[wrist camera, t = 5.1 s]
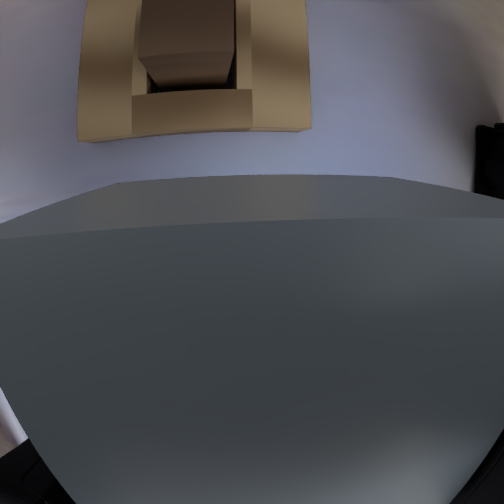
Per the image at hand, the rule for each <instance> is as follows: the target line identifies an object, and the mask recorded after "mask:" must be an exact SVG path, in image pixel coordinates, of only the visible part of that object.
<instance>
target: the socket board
mask: <svg viewBox="0 0 504 504" xmlns="http://www.w3.org/2000/svg"><path fill="white" fill-rule="evenodd" d="M141 6H142V0H87V6H86V13H85V19H84V27H83V35H82V44H81V54H80V66H79V82H78V115H77V131H78V142H87V143H98V142H105V141H113V140H121V139H130V138H139V137H149V136H161V135H174V134H189V133H209V132H247V131H271V132H300V131H304V130H308V129H311V94H310V69H309V49H308V32H307V18H306V5H305V0H234V54H233V89H212V90H190V91H175V92H163V93H154V80H153V79H152V77H151V76H150V74H149V73H148V72H147V70H146V69H145V67H144V66H143V64H142V63H141V62H140V60H139V59H138V44H139V29H140V17H141Z"/></svg>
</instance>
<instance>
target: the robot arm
mask: <svg viewBox="0 0 504 504" xmlns="http://www.w3.org/2000/svg"><path fill="white" fill-rule="evenodd" d="M481 131H482V133H481ZM475 193H477V194H481V195H485V196H490V197H494V198H498V199H502V200H504V123H496V124H495V125H494V128H490V127H487V126H484V125H478V126H477V127H476V178H475ZM0 504H76V503H75V502H74V500H73V499H72V498H71V497H70V495H69V494H68V493H67V492H66V490H65V489H64V488H63V487H62V485H61V484H60V483H59V481H58V480H57V479H56V477H55V476H54V475H53V473H52V472H51V471H50V469H49V468H48V466H47V465H46V464H45V462H44V461H43V459H42V458H41V456H40V455H39V453H38V452H37V450H36V449H35V447H34V446H33V444H32V442H31V441H30V439H29V438H28V439H27V440H25V441H24V442H23V443H21V444H20V445H19V446H17V447H16V448H14V449H13V450H11V451H10V452H8V453H7V454H5V455H4V456H2V457H1V458H0ZM449 504H504V429H503V430H502V432H501V434H500V435H499V437H498V438H497V440H496V442H495V443H494V445H493V446H492V448H491V449H490V451H489V452H488V454H487V455H486V457H485V458H484V460H483V461H482V462H481V464H480V465H479V467H478V468H477V469H476V471H475V472H474V474H473V475H472V476H471V478H470V479H469V480H468V481H467V483H466V484H465V485H464V487H463V488H462V489H461V490H460V492H459V493H458V494H457V495H456V496H455V498H454V499H453V500H452V501H451V502H450V503H449Z"/></svg>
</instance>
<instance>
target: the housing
mask: <svg viewBox="0 0 504 504" xmlns="http://www.w3.org/2000/svg"><path fill="white" fill-rule="evenodd" d="M0 387H1V389H2V391H3V393H4V395H5V397H6V399H7V401H8V403H9V404H10V406H11V408H12V410H13V412H14V414H15V416H16V417H17V419H18V421H19V423H20V424H21V426H22V428H23V429H24V431H25V433H26V434H27V436H28V438H29V439H30V441H31V442H32V444H33V446H34V447H35V449H36V450H37V452H38V453H39V455H40V456H41V458H42V459H43V461H44V462H45V464H46V465H47V466H48V468H49V469H50V471H51V472H52V473H53V475H54V476H55V477H56V479H57V480H58V481H59V483H60V484H61V485H62V487H63V488H64V489H65V490H66V492H67V493H68V494H69V495H70V497H71V498H72V499H73V500H74V502H75V503H76V504H449V503H450V502H451V501H452V500H453V499H454V498H455V496H456V495H457V494H458V493H459V492H460V490H461V489H462V488H463V487H464V485H465V484H466V483H467V481H468V480H469V479H470V478H471V476H472V475H473V474H474V472H475V471H476V469H477V468H478V467H479V465H480V464H481V462H482V461H483V460H484V458H485V457H486V455H487V454H488V452H489V451H490V449H491V448H492V446H493V445H494V443H495V442H496V440H497V438H498V437H499V435H500V434H501V432H502V430H503V429H504V200H502V199H498V198H494V197H490V196H485V195H481V194H477V193H472V192H468V191H463V190H458V189H454V188H449V187H444V186H439V185H433V184H428V183H423V182H417V181H411V180H405V179H399V178H393V177H378V176H353V175H235V176H209V177H190V178H173V179H159V180H146V181H134V182H124V183H116V184H113V185H109V186H106V187H103V188H99V189H96V190H93V191H90V192H87V193H84V194H81V195H78V196H74V197H71V198H69V199H66V200H63V201H60V202H57V203H54V204H51V205H48V206H46V207H43V208H40V209H37V210H35V211H32V212H29V213H27V214H24V215H21V216H19V217H16V218H14V219H11V220H9V221H6V222H4V223H1V224H0Z"/></svg>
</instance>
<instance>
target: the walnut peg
mask: <svg viewBox="0 0 504 504" xmlns="http://www.w3.org/2000/svg"><path fill="white" fill-rule="evenodd" d="M233 54H234V0H142V6H141V17H140V29H139V44H138V59H139V60H140V62H141V63H142V64H143V66H144V67H145V69H146V70H147V72H148V73H149V74H150V76H151V77H152V79H153V80H154V82H155V83H156V84H157V86H158V87H159V89H160V90H161V92H162V93H163V92H175V91H190V90H212V89H225V85H226V81H227V77H228V73H229V69H230V65H231V62H232V58H233Z"/></svg>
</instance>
